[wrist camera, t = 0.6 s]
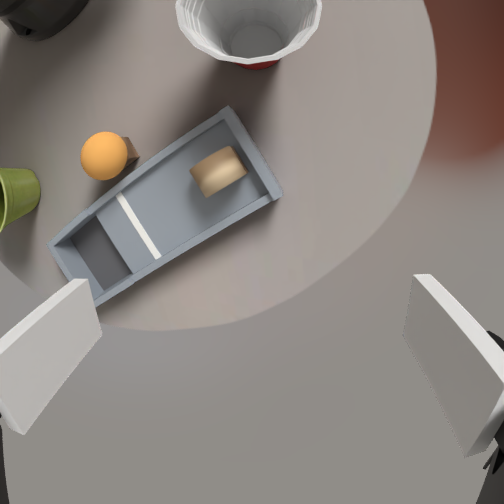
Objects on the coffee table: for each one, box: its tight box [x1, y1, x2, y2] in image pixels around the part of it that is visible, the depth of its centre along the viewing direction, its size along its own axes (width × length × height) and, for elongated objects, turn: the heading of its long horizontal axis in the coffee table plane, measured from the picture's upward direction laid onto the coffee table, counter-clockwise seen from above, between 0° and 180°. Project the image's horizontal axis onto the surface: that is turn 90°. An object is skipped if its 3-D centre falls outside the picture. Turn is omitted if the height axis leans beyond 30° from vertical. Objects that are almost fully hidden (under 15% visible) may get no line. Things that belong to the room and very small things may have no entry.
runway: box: [46, 105, 283, 308], centre depth 34 cm, size 10×27×4 cm, turn 121°
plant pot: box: [0, 168, 40, 233], centre depth 32 cm, size 9×9×9 cm
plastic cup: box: [175, 0, 322, 70], centre depth 23 cm, size 11×11×12 cm
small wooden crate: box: [121, 137, 139, 169], centre depth 32 cm, size 3×3×3 cm
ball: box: [81, 132, 128, 180], centre depth 29 cm, size 5×5×5 cm
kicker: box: [189, 146, 249, 198], centre depth 29 cm, size 3×4×4 cm
